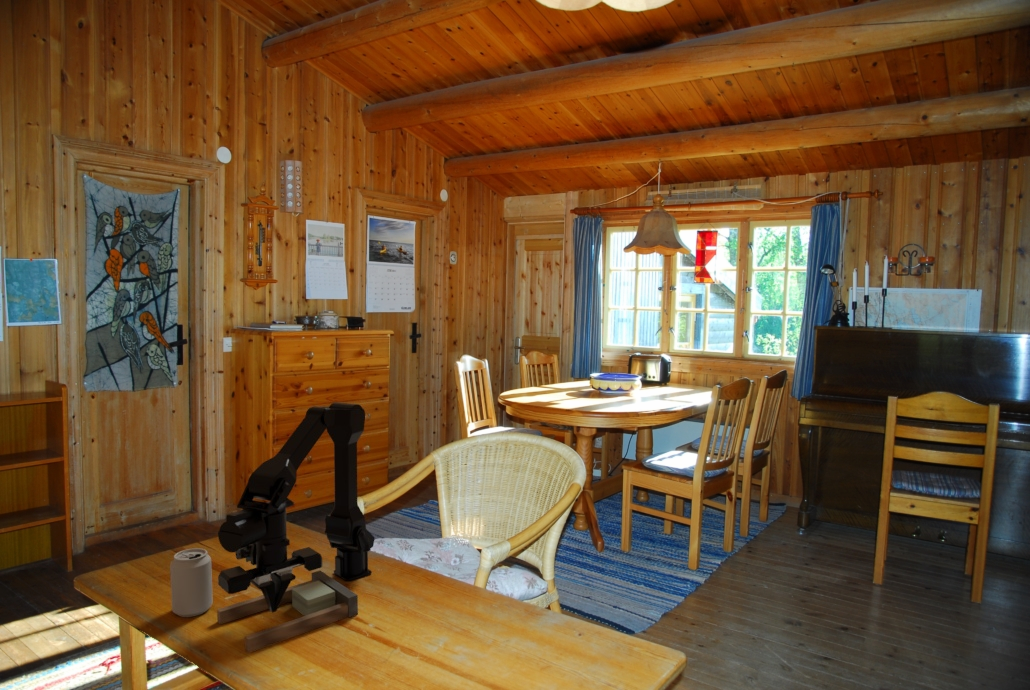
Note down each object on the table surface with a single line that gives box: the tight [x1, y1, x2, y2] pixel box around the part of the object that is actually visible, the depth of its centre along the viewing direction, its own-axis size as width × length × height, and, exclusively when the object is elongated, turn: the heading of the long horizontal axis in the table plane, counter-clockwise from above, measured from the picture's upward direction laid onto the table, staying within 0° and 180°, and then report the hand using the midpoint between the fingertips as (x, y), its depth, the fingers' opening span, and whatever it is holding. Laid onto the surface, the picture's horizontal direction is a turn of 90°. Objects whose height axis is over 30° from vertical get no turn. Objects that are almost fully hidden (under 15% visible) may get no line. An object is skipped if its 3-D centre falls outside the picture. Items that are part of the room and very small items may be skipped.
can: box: [169, 547, 214, 618], centre depth 140 cm, size 8×8×12 cm
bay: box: [216, 570, 359, 654], centre depth 137 cm, size 22×16×4 cm
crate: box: [291, 581, 336, 616], centre depth 142 cm, size 6×7×4 cm
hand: (273, 611), depth 135 cm, fingers closed
